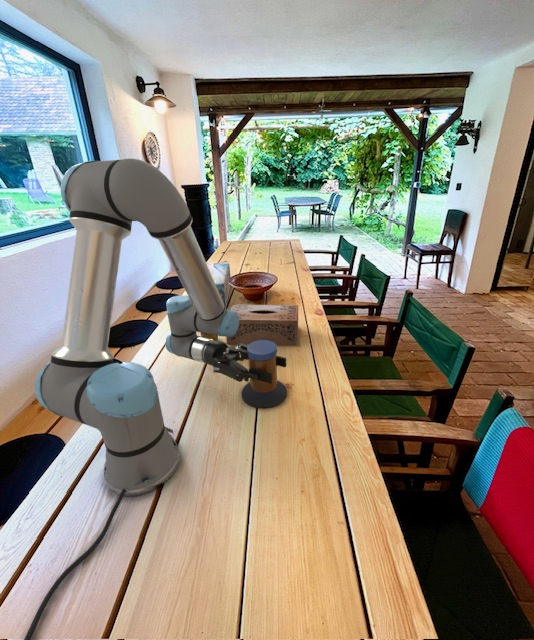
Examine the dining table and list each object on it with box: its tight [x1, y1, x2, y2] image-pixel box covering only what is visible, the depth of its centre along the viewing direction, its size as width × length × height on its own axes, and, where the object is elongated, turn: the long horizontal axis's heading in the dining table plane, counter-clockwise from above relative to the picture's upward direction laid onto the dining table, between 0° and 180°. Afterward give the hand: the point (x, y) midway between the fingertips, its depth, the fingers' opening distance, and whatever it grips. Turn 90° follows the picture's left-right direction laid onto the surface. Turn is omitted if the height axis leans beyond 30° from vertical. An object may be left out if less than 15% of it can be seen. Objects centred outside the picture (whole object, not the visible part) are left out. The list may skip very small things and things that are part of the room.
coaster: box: [240, 380, 288, 410], centre depth 91 cm, size 13×13×1 cm
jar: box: [247, 355, 278, 393], centre depth 88 cm, size 8×8×12 cm
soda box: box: [206, 261, 232, 308], centre depth 164 cm, size 41×14×13 cm, turn 3°
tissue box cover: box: [226, 304, 299, 347], centre depth 122 cm, size 26×14×10 cm, turn 83°
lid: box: [247, 340, 278, 361], centre depth 86 cm, size 8×8×2 cm
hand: (278, 370), depth 86 cm, fingers closed on jar, 8 cm apart
